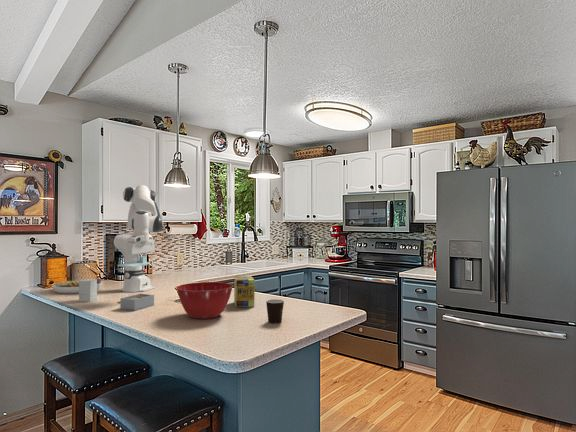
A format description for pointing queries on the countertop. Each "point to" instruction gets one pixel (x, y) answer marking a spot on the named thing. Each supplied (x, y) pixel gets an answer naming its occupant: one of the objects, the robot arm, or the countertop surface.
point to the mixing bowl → (204, 298)
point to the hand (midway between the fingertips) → (141, 260)
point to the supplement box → (87, 290)
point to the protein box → (244, 291)
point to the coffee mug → (274, 310)
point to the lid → (136, 263)
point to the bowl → (70, 287)
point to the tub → (136, 302)
